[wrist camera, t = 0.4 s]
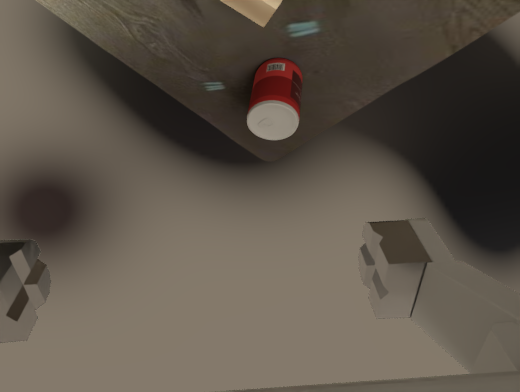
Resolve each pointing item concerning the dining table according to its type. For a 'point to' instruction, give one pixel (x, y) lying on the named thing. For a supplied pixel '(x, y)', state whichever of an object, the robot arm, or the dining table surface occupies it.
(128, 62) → the dining table surface
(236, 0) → the frame
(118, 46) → the dining table surface
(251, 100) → the canned food
